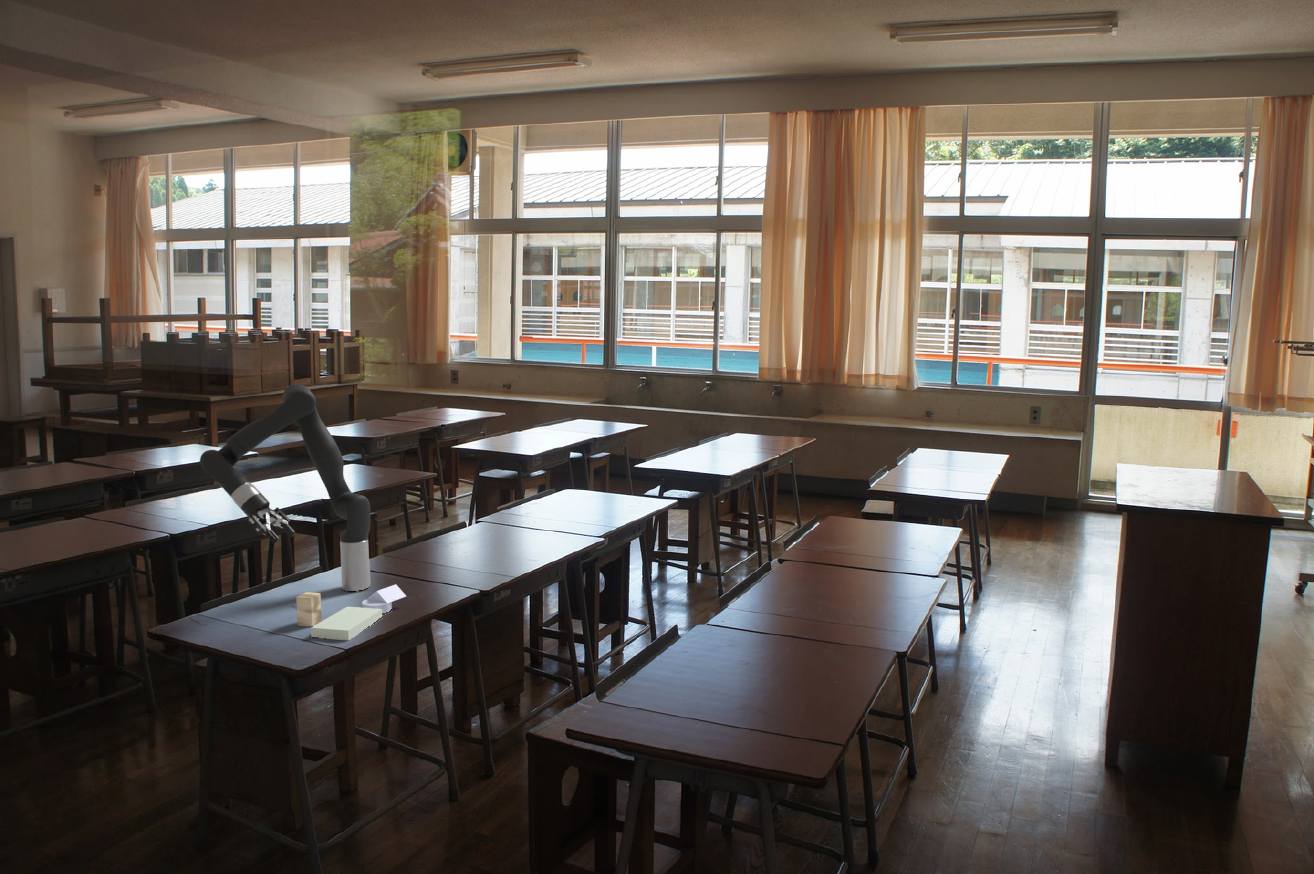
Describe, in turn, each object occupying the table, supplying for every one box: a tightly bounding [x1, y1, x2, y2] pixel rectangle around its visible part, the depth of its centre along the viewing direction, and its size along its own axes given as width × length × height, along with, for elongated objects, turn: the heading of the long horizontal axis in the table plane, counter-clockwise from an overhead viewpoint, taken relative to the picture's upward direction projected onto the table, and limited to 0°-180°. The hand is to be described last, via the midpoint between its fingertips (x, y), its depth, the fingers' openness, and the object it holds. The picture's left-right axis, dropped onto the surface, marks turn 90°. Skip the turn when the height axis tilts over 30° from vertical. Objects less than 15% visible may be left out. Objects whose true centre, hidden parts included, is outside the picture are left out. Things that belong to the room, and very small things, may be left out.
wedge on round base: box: [361, 583, 407, 613], centre depth 292 cm, size 9×7×13 cm
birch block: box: [296, 591, 323, 627], centre depth 278 cm, size 5×5×9 cm
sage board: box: [310, 606, 384, 641], centre depth 275 cm, size 20×12×3 cm, turn 169°
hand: (285, 538), depth 283 cm, fingers open, 8 cm apart
